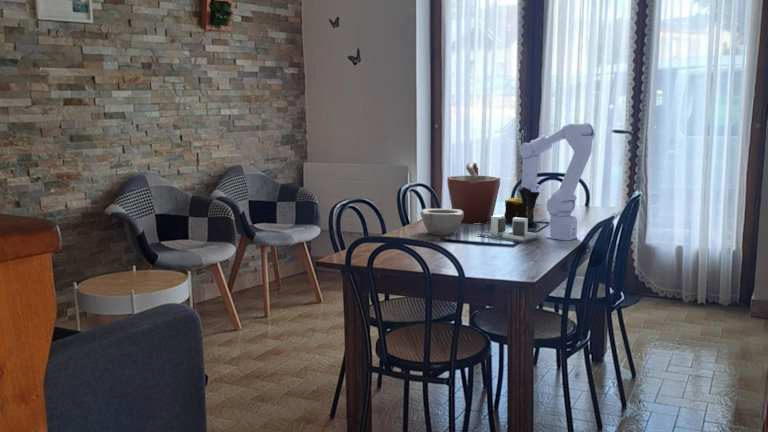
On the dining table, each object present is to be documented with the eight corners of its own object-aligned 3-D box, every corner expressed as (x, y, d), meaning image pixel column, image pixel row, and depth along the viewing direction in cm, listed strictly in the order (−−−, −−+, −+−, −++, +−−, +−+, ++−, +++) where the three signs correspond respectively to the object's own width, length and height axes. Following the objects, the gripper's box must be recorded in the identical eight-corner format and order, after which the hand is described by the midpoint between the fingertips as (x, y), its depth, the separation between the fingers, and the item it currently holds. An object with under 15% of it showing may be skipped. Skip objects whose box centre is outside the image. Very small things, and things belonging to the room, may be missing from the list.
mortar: (463, 230, 286) (464, 207, 285) (463, 238, 270) (463, 214, 268) (421, 229, 288) (422, 207, 287) (419, 237, 272) (419, 213, 270)
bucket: (486, 227, 292) (488, 166, 288) (436, 223, 302) (437, 164, 298) (503, 218, 314) (505, 161, 310) (456, 214, 324) (457, 159, 320)
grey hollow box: (538, 238, 269) (539, 217, 268) (524, 242, 261) (525, 221, 260) (492, 232, 282) (492, 212, 280) (477, 236, 273) (478, 216, 272)
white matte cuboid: (514, 235, 270) (514, 217, 269) (527, 236, 268) (527, 218, 267) (511, 237, 267) (512, 218, 266) (524, 238, 265) (525, 219, 264)
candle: (503, 223, 300) (504, 200, 299) (510, 220, 309) (511, 197, 308) (527, 225, 296) (527, 202, 294) (533, 222, 305) (534, 199, 303)
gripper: (544, 175, 273) (543, 210, 275) (534, 171, 287) (533, 204, 289) (526, 175, 272) (525, 210, 275) (517, 171, 287) (516, 205, 289)
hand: (528, 207), depth 282 cm, fingers open, 7 cm apart
